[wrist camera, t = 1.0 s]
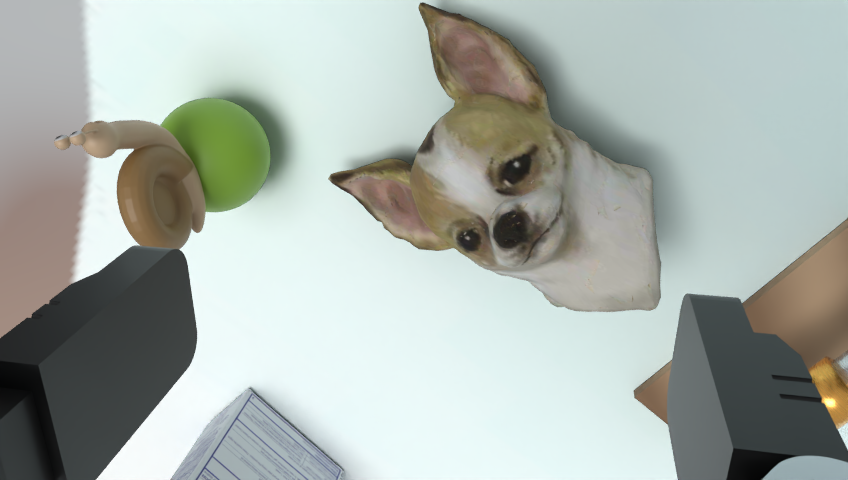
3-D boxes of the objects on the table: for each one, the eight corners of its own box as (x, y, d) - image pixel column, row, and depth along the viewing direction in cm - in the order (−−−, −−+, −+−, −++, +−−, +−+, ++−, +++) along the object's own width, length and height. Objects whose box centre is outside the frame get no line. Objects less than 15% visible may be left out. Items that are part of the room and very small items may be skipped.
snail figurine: (257, 55, 37) (127, 117, 26) (300, 178, 39) (197, 282, 28) (161, 82, 38) (0, 151, 27) (208, 199, 40) (76, 305, 29)
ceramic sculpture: (582, 419, 31) (275, 230, 31) (587, 323, 39) (342, 172, 39) (751, 218, 27) (393, -3, 27) (718, 156, 35) (441, -15, 35)
